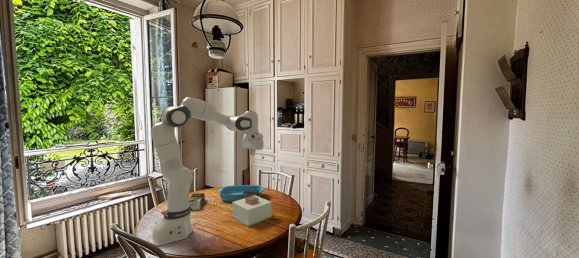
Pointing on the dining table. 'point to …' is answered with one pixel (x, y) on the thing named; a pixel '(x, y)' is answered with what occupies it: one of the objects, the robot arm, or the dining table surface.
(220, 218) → the dining table surface
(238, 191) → the casserole dish
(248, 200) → the plunger
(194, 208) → the juice carton
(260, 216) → the housing
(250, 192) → the small box
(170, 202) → the robot arm
